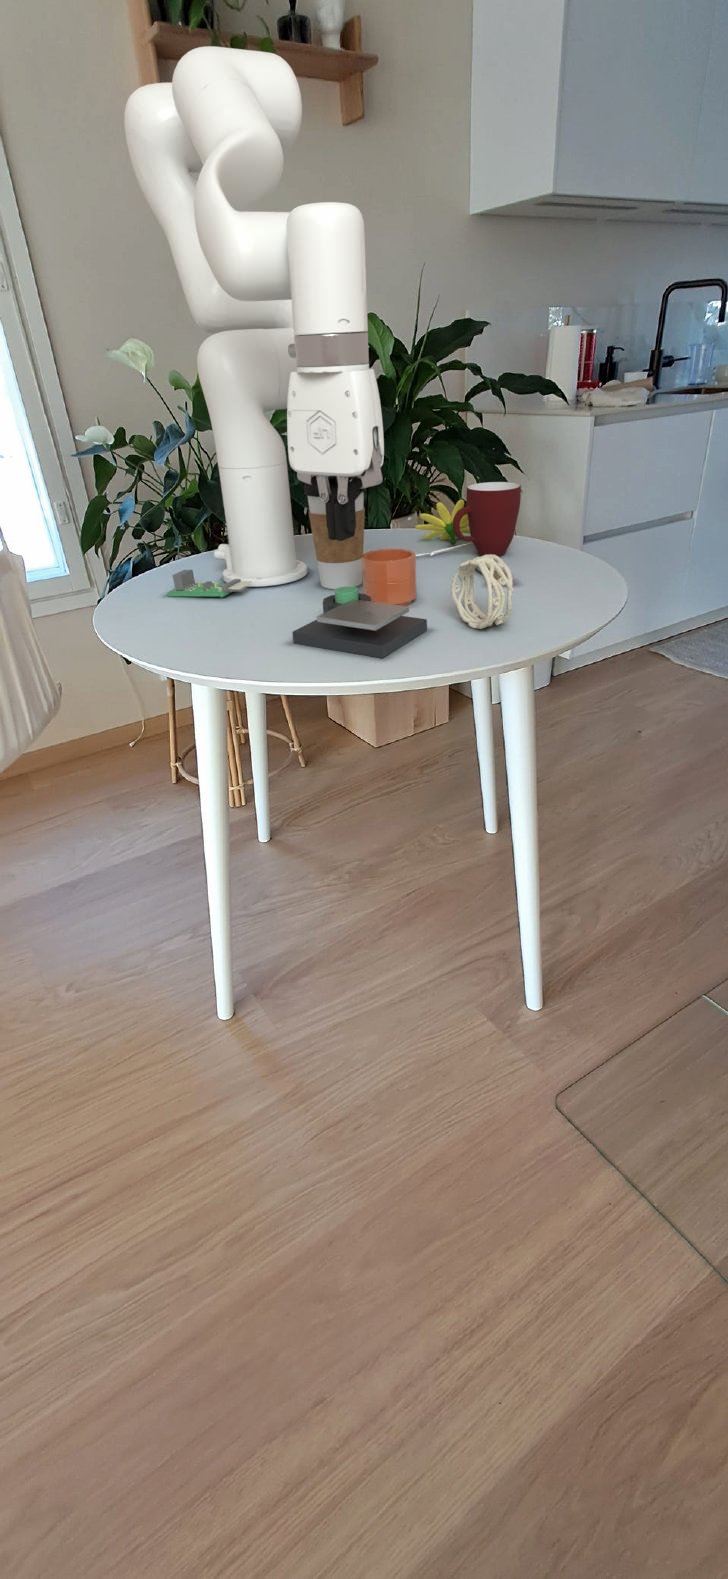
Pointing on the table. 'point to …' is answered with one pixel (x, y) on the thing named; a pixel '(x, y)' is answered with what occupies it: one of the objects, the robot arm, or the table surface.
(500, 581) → the bracelet
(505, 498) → the mug
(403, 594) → the orange cup
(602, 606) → the table surface
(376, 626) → the weighing plate
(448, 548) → the silver knife
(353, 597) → the tare button
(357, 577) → the coffee cup
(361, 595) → the scale
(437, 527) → the flower
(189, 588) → the circuit board
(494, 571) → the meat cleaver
